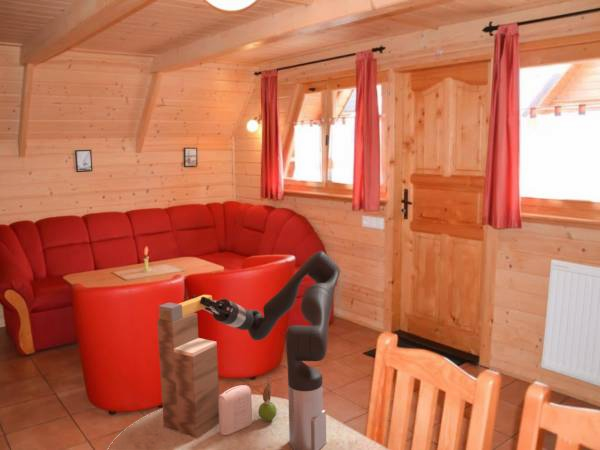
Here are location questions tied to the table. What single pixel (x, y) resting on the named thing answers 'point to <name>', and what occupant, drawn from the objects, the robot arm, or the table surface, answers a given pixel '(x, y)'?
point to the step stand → (188, 377)
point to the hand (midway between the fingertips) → (197, 299)
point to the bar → (181, 309)
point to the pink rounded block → (235, 409)
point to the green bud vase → (267, 404)
